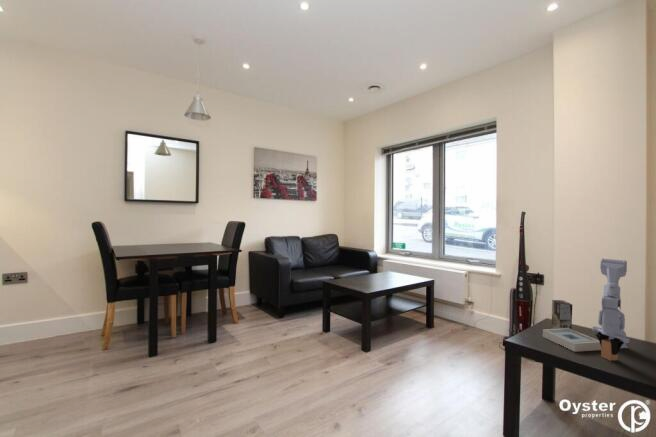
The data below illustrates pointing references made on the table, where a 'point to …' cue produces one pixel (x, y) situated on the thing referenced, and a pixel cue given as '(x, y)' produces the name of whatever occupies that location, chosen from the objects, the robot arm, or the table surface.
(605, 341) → the peg
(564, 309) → the coffee box
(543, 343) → the table surface
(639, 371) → the table surface
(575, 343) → the tray
